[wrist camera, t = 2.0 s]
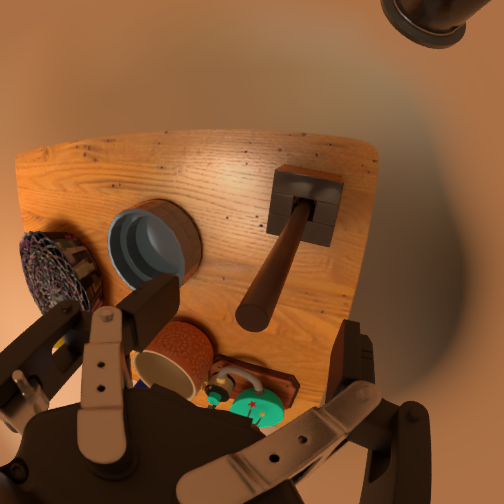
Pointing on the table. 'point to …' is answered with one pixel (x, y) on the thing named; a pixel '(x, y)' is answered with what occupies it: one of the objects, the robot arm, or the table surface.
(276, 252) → the stirring stick
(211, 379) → the contraption on wooden base
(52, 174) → the table surface
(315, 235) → the holder
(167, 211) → the bowl
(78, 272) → the decorative bowl
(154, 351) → the planter
